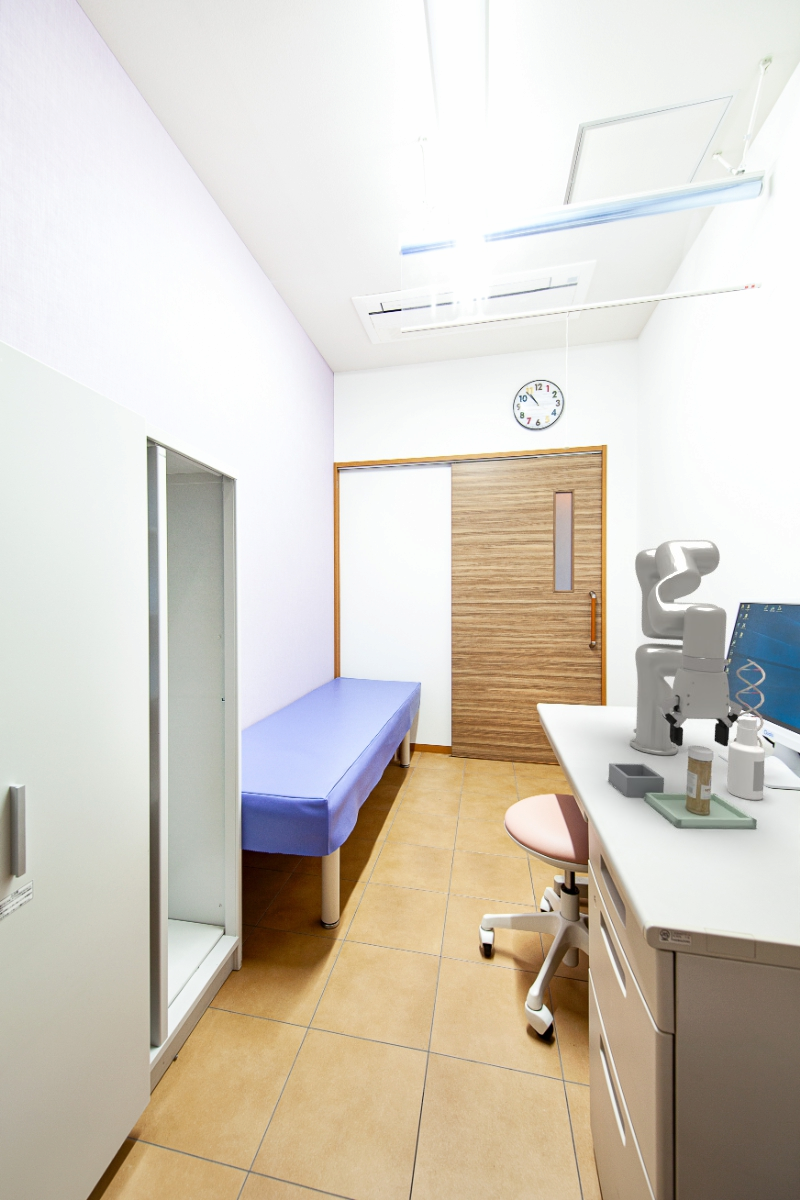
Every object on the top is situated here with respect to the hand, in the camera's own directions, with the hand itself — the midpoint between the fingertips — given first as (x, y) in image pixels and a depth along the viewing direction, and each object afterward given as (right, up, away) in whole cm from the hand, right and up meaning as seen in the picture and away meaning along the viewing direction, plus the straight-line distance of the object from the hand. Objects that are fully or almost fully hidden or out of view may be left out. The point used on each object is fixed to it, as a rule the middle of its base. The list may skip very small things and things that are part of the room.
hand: (698, 743), depth 99 cm
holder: (-8, -14, +12) cm, 20 cm away
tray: (0, -15, 0) cm, 15 cm away
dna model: (+26, -15, +21) cm, 37 cm away
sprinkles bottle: (0, -14, 0) cm, 14 cm away
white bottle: (+17, -15, +10) cm, 25 cm away
